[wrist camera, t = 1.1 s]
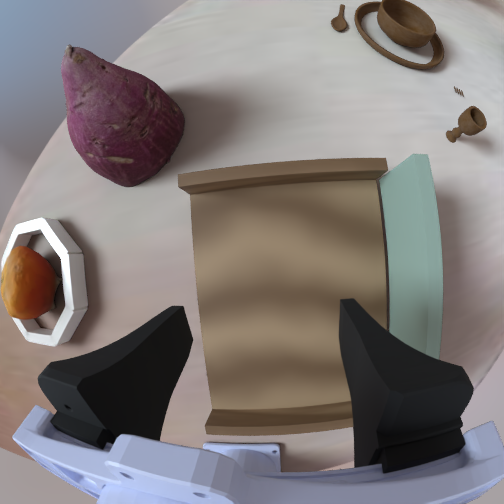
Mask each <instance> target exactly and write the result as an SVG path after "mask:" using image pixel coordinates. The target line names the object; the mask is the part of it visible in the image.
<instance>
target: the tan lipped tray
mask: <svg viewBox="0 0 504 504" xmlns="http://www.w3.org/2000/svg"><path fill="white" fill-rule="evenodd" d="M387 171H388V166H387V161H386V158H341V159H317V160H300V161H286V162H274V163H263V164H253V165H243V166H235V167H226V168H219V169H211V170H204V171H197V172H191V173H184V174H178V187H179V188H181V189H182V190H184V191H185V192H187V193H188V194H190V200H191V219H192V235H193V249H194V262H195V274H196V285H197V295H198V305H199V315H200V323H201V332H202V340H203V348H204V356H205V363H206V370H207V377H208V384H209V390H210V397H211V403H212V411H211V413H210V415H209V418H208V420H207V422H206V424H205V429H206V434H211V435H237V436H259V435H285V434H299V433H310V432H320V431H328V430H335V429H342V428H349V427H353V415H352V404H351V397H350V391H349V387H348V383H347V378H346V374H345V370H344V366H343V362H342V358H341V352H340V344H339V316H340V299H349V298H354V299H355V300H356V301H357V302H358V303H359V304H360V305H361V306H362V307H363V308H364V309H365V310H366V312H367V313H368V314H369V315H370V316H371V317H372V318H374V319H375V320H376V321H377V322H378V323H379V324H380V325H381V326H382V327H383V328H385V329H386V330H387V295H386V269H385V253H384V240H383V229H382V220H381V211H380V203H379V196H378V189H377V183H376V179H378V178H379V177H380V176H381V175H383V174H384V173H385V172H387Z"/></svg>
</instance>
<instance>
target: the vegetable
mask: <svg viewBox="0 0 504 504" xmlns="http://www.w3.org/2000/svg"><path fill="white" fill-rule="evenodd" d="M61 71H62V78H63V84H64V91H65V96H66V106H67V125H68V130H69V134H70V138H71V141H72V143H73V145H74V147H75V149H76V150H77V152H78V153H79V154H80V156H81V157H82V159H83V160H84V161H85V162H86V164H87V165H88V166H89V167H90V168H91V169H92V170H93V171H95V172H96V173H98V174H99V175H101V176H103V177H105V178H107V179H109V180H111V181H112V182H114V183H116V184H118V185H121V186H124V187H132V186H135V185H137V184H139V183H141V182H143V181H145V180H146V179H148V178H150V177H152V176H154V175H155V174H156V173H157V172H158V171H159V170H160V169H161V168H162V167H163V166H164V165H165V164H167V163H169V162H170V158H171V156H172V154H173V152H174V151H175V149H176V147H177V146H178V144H179V141H180V139H181V137H182V135H183V131H184V123H185V121H184V115H183V113H182V111H181V110H180V108H179V107H178V105H177V104H176V103H175V102H174V101H173V100H172V99H171V98H170V97H169V96H168V95H167V94H166V93H165V92H164V91H163V90H162V89H161V88H160V87H159V86H158V85H157V84H156V83H155V82H153V81H152V80H150V79H148V78H147V77H145V76H144V75H142V74H139V73H137V72H134V71H131V70H128V69H124V68H122V67H120V66H117V65H115V64H112V63H110V62H107V61H105V60H104V59H101V58H99V57H98V56H96V55H94V54H93V53H91V52H90V51H88V50H86V49H83V48H79V47H72V46H71V45H68V46H67V48H66V50H65V55H64V57H63V60H62V66H61Z"/></svg>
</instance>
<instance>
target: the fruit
mask: <svg viewBox="0 0 504 504" xmlns="http://www.w3.org/2000/svg"><path fill="white" fill-rule="evenodd" d="M61 280H63V278H58V277H57V275H56V273H55V270H54V269H53V267H52V266H51V265H50V264H49V262H48V261H47V260H46V259H45V258H44V257H42V256H41V255H40V254H39V253H37V252H36V251H34V250H32V249H30V248H28V247H26V246H18V247H16V248H14V249H13V250H11V252H10V254H9V256H8V257H7V259H6V262H5V265H4V267H3V270H2V280H1V283H2V284H1V295H2V299H3V301H4V304H5V306H6V308H7V311H8V314H9V315H10V316H11V317H13V318H16V319H22V320H28V319H33V318H37V317H39V316H41V315H42V314H44V313H46V312H48V311H50V310H52V309H53V308H55V307H56V306H55V304H54V296H55V292H56V289H57V287H58V285H59V283H60V282H61Z"/></svg>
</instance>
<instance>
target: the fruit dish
mask: <svg viewBox="0 0 504 504" xmlns="http://www.w3.org/2000/svg"><path fill="white" fill-rule="evenodd" d="M40 233H43V234H44V235H45V237H46V238H47V239H48V241H49V242H50V244H51V245H52V247H53V248H54V249H55V251H56V252H57V254H58V255H59V256H60V258H61V265H62V278H63V288H64V296H65V304H66V306H65V308H64V310H63V312H62V314H61V316H60V318H59V320H58V322H57V324H56V326H55V328H54V330H51V329H44V328H40V327H39V325H38V324H37V322H36V321H35V319H34V318H33V319H28V320H22V319H16V318H13V317H12V318H13V320H14V321H15V323H16V325H17V326H18V328H19V329H20V331H21V333H22V334H23V336H24V337H25V339H26V340H28V341H29V342H34V343H39V344H44V345H49V346H57V345H60V344H62V343H65V342H67V341H70V339H71V337H72V335H73V333H74V332H75V330H76V328H77V326H78V325H79V323H80V321H81V319H82V318H83V316H84V314H85V312H86V311H87V309H88V308H87V307H86V306H88V299H87V291H86V281H85V270H84V256H83V254H81V253H82V250H81V249H80V248H79V247H78V245H77V244H76V243H75V242H74V240H73V239H72V238H71V237H70V235H69V234H68V233H67V231H66V230H65V229H64V228H63V226H62V225H61V224H60V222H59V221H58V220H55V219H48V218H39V219H35V220H32V221H28V222H24V223H21V224H17V226H15V228H14V230H13V233H12V235H11V237H10V240H9V242H8V245H7V247H6V250H5V253H4V255H3V258H2V262H1V265H2V270H3V267H4V265H5V262H6V259H7V257H8V256H9V254H10V252H11V250H13V249H14V248H16V247H18V246H26V247H27V244H28V242H29V240H30V238H31V236H32V235H36V234H40Z"/></svg>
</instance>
